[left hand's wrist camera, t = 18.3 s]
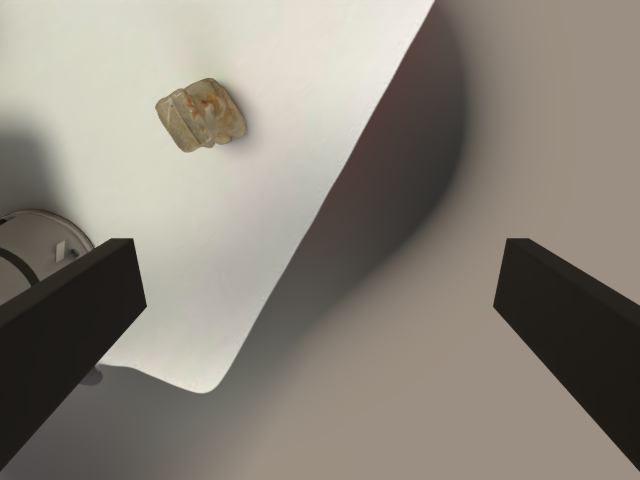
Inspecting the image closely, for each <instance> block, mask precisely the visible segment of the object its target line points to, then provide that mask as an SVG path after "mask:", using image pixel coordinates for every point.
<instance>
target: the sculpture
mask: <svg viewBox="0 0 640 480" xmlns="http://www.w3.org/2000/svg"><path fill="white" fill-rule="evenodd" d="M155 109H156V110H157V113H158V116H159V118H160V120H161V122H162V124H163V125H164V127H165V128H166V130H167V131H168V132H169V134H170V135H171V137H172V138H173V140H174V142H175V143H176V145H177V146H178V147H179V148H180V149H181V150H182V151H184V152H192V151H195V150H196V149H197V148H199V147H206V148H212V147H213V146H214V145H215V142H216V143H217V144H226V143H228V142H229V141H231V137H235V138H240V137H242V136H243V135H244V134H245V132H246V123H245V121H244V118H243V117H242V115H241V113H240V111H239V110H238V108H237V107H236V105H235V104H234V102H233V101H232V99H231V98H230V97H229V95H228V94H227V92H226V91H225V89H224V88H223V87H222V86H221V85H220V84H219V83H218V82H217V81H216V80H214V79H213V78H207V79H203V80H200V81H198V82H195V83H193V84H191V85H189V86H188V87H186V88H185V89H182V88H181V89H177V90H176V91H174V92H173V93H172V94H170V95H169V96H167V97H165V98H162V99H161V100H159V101H158V103H157V104H156V107H155Z"/></svg>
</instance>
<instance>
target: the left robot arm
mask: <svg viewBox="0 0 640 480" xmlns="http://www.w3.org/2000/svg"><path fill="white" fill-rule="evenodd" d="M146 307H147V304H146V299H145V294H144V289H143V284H142V280H141V275H140V270H139V265H138V260H137V255H136V250H135V245H134V240H133V238H111V239H109V240H108V241H106V242H105V243H103V244H101V245H100V246H98V247H96V248H95V249H94V248H93V246H92V244H91V243H90V241H89V240H88V239H87V237H86V236H85V235H84V234H83V233H82V232H81V231H80V230H79V229H78V228H77V227H76V226H74V225H73V224H72V223H70V222H69V221H67V220H66V219H64V218H62V217H60V216H58V215H55V214H53V213H50V212H46V211H42V210H21V211H17V212H14V213H11V214H8V215H5V216H3V217H1V218H0V471H1V470H2V469H3V468H4V467H5V466H6V465H7V463H8V462H9V461H10V460H11V459H12V458H13V457H14V456H15V454H16V453H17V452H18V451H19V450H20V449H21V448H22V447H23V445H24V444H25V443H26V442H27V441H28V440H29V439H30V438H31V436H32V435H33V434H34V433H35V432H36V431H37V430H38V429H39V427H40V426H41V425H42V424H43V423H44V422H45V421H46V420H47V418H48V417H49V416H50V415H51V414H52V413H53V412H54V411H55V410H56V408H57V407H58V406H59V405H60V404H61V403H62V402H63V401H64V399H65V398H66V397H67V396H68V395H69V394H70V393H71V392H72V390H73V389H74V388H75V387H76V386H77V385H78V384H79V383H80V381H81V380H82V379H83V378H84V377H85V376H86V375H87V374H88V372H89V371H90V370H91V369H92V368H93V367H94V366H95V365H96V363H97V362H98V361H99V360H100V359H101V358H102V357H103V356H104V354H105V353H106V352H107V351H108V350H109V349H110V348H111V347H112V345H113V344H114V343H115V342H116V341H117V340H118V339H119V338H120V336H121V335H122V334H123V333H124V332H125V331H126V330H127V329H128V327H129V326H130V325H131V324H132V323H133V322H134V321H135V320H136V318H137V317H138V316H139V315H140V314H141V313H142V312H143V311H144V309H145V308H146ZM493 307H494V308H495V309H496V311H497V312H498V313H499V314H500V315H501V316H502V317H503V318H504V320H505V321H506V322H507V323H508V324H509V325H510V326H511V327H512V329H513V330H514V331H515V332H516V333H517V334H518V335H519V336H520V338H521V339H522V340H523V341H524V342H525V343H526V344H527V345H528V347H529V348H530V349H531V350H532V351H533V352H534V353H535V354H536V356H537V357H538V358H539V359H540V360H541V361H542V362H543V363H544V365H545V366H546V367H547V368H548V369H549V370H550V371H551V372H552V374H553V375H554V376H555V377H556V378H557V379H558V380H559V381H560V383H561V384H562V385H563V386H564V387H565V388H566V389H567V390H568V392H569V393H570V394H571V395H572V396H573V397H574V398H575V399H576V400H577V402H578V403H579V404H580V405H581V406H582V407H583V408H584V410H585V411H586V412H587V413H588V414H589V415H590V416H591V417H592V418H593V420H594V421H595V422H596V423H597V424H598V425H599V426H600V427H601V429H602V430H603V431H604V432H605V433H606V434H607V435H608V436H609V438H610V439H611V440H612V441H613V442H614V443H615V444H616V445H617V447H618V448H619V449H620V450H621V451H622V452H623V453H624V454H625V456H626V457H627V458H628V459H629V460H630V461H631V462H632V463H633V465H634V466H635V467H636V468H637V469H638V470H639V471H640V305H638V304H636V303H635V302H633V301H631V300H630V299H628V298H626V297H625V296H623V295H621V294H620V293H618V292H616V291H615V290H613V289H611V288H610V287H608V286H606V285H605V284H603V283H601V282H600V281H598V280H597V279H595V278H593V277H592V276H590V275H588V274H587V273H585V272H583V271H582V270H580V269H578V268H577V267H575V266H573V265H572V264H570V263H568V262H567V261H565V260H563V259H562V258H560V257H559V256H557V255H555V254H554V253H552V252H550V251H549V250H547V249H545V248H544V247H542V246H540V245H539V244H537V243H535V242H534V241H532V240H530V239H529V238H507V240H506V245H505V250H504V255H503V260H502V265H501V270H500V275H499V280H498V284H497V289H496V294H495V299H494V304H493Z"/></svg>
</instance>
